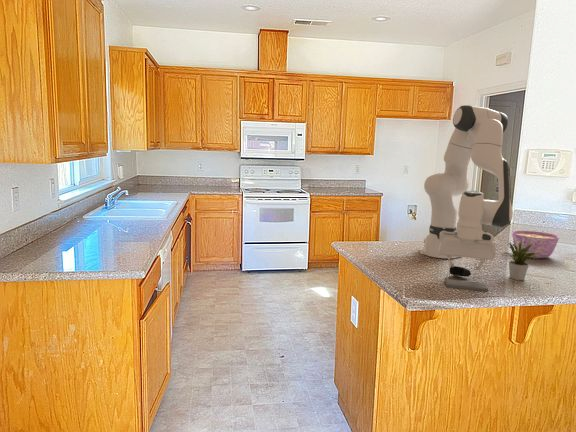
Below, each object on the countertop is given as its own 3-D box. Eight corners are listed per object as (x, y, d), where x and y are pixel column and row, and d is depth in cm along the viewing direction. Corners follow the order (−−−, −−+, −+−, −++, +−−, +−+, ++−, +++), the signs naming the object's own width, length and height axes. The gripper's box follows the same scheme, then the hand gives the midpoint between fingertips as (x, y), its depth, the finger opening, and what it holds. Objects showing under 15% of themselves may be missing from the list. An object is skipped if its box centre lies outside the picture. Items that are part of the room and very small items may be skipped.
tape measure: (462, 276, 164) (463, 266, 165) (445, 274, 169) (446, 265, 170) (470, 278, 168) (471, 269, 169) (454, 277, 174) (455, 267, 174)
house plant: (495, 280, 167) (500, 239, 165) (492, 271, 180) (496, 233, 178) (537, 285, 163) (542, 243, 160) (530, 275, 175) (535, 236, 173)
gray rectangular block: (444, 281, 164) (445, 278, 164) (484, 285, 160) (484, 282, 160) (446, 287, 157) (447, 284, 156) (488, 291, 153) (488, 288, 153)
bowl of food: (509, 258, 204) (511, 235, 203) (509, 251, 222) (512, 229, 220) (558, 265, 195) (561, 240, 193) (554, 256, 213) (557, 233, 211)
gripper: (440, 232, 164) (437, 267, 166) (498, 237, 159) (494, 273, 161) (439, 229, 170) (435, 263, 172) (495, 234, 165) (491, 269, 167)
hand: (464, 268), depth 166 cm, fingers open, 8 cm apart
